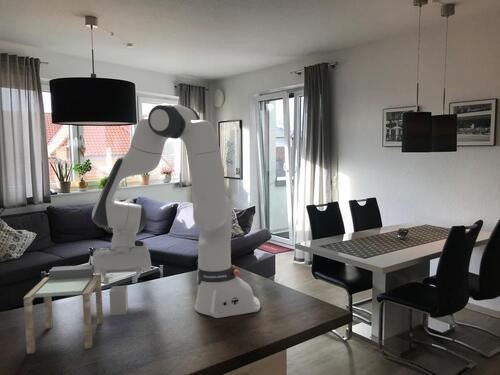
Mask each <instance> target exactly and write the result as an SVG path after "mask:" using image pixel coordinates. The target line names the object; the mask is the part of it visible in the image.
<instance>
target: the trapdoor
mask: <svg viewBox="0 0 500 375" xmlns="http://www.w3.org/2000/svg"><path fill="white" fill-rule="evenodd" d="M94 272H95V270H94V265H92V264H84V265H65V266H52V268H50V269H49V270H48V277H49V281H48V282H47V283H46V284H45V285H44V286H43V287H42V288H41V289H40V290H39V291H38V292H37V293H36V294H35V298H44V297H49V296H51V297H62V296H75V295H83V292H84V291H85V289H86V288H87V286H88V285H89V283H90V282H91V281H92V275H94Z"/></svg>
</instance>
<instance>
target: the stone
mask: <svg viewBox="0 0 500 375" xmlns="http://www.w3.org/2000/svg"><path fill="white" fill-rule="evenodd" d="M128 292H129V290H128V285H117V286H116V285H115V286H114V285H113V286H111V288H110V290H109V310H110V311H109V312H110V316H118V315H121V316H122V315H127V314H128V313H127V312H128V310H129V294H128Z"/></svg>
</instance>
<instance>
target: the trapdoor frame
mask: <svg viewBox="0 0 500 375" xmlns="http://www.w3.org/2000/svg"><path fill="white" fill-rule="evenodd" d="M48 281H49V276H48V277H44V278H43V279H41V281H39V283H37V284H36V285H35V286H34V287H32V289H31V290H30V291H28V293H26V294H25V296H24V297H23V308H24V310H23V312H24V322H25V325H24V327H25V328H24V329H25V339H26V340H25V341H26V353H27V354H28V355H29V354H34V353H35V351H36V340H35V326H34V324H35V323H34V322H35V321H34V310H33V309H34V308H33V307H34V306H33V300H34V299H35V298H36V297H35V294H36V293H37V292H38V291H39V290H40V289H41V288H42V287H43V286H44V285H45V284H46V283H47V282H48ZM94 291H95V309H96V310H95V312H96V325H102V324H104V314H103V312H104V311H103V296H102V295H103V294H102V274H93V275H92V281H91V282H90V283H89V285H88V286H87V288H86V289H85V291H84V292H83V294H82V306H83V307H82V308H83V309H82V310H83V312H82V313H83V327H84V329H83V330H84V346H85V347H84V348H85V349H91V348H93V335H92V334H93V333H92V332H93V330H92V312H91V310H92V308H91V295H92V294H93V293H94ZM43 298H44V311H45V326H46V327H45V328H46V329H52V328H53V327H54V320H53V319H54V318H53V316H54V315H53V304H52V303H53V302H52V301H53V300H52V298H53V297H52V296H49V297H43Z"/></svg>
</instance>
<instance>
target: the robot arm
mask: <svg viewBox="0 0 500 375" xmlns="http://www.w3.org/2000/svg"><path fill="white" fill-rule="evenodd" d="M169 138H170V139H174V140H175V139H176V140H177V139H180V140H182V142H183V143H184V145H185V151H186V157H187V163H188V168H189V174H190V181H191V200H192V202H191V203H192V216H193V217H192V218H193V221H194V223H195V225H196V226H197V227H198V228H199V235H198V243H197V256H198V257H197V260H198V261H197V262H198V264H197V265H198V266H197V268H196V269H197V270H196V282H197V294H196V300H195V305H194V306H193V307H194V310H195V311H196V312H198V313H200V314H202V315H207V316H210V317H212V318H215V319H218V318H219V319H220V318H225V317H232V316H238V315H244V314H249V313H257V312H259V311H260V309H261V302H260V299H258V297H257V296H255V295H254V292H253V289H252V287H251V285H250V284H249V283H248V282H247V281H244V280H243V279H241V278H240V277H239V276H240V270H239V269H237V267H236V266H235V265H234V264H233V265H232V262H231V261H232V257H231V256H232V255H231V254H232V249H231V248H232V246H231V245H232V244H231V241H232V227H233V226H232V223H233V221H232V220H233V204H232V201H231V199H230V198H229V197H228V196H227V195H226V187H225V172H224V166H223V159H222V154H221V148H220V145H219V140H218V139H219V138H218V136H217V134H216V130H215V127H214V125H213V124H212V122H210V121H209V120H205V119H201V118H200V116H199V114H198V113H197V111H196V110H195V109H193V108H192V107H188V106H184V105H181V104H177V103H176V104H175V103H160V104H157V105H155V106H154V107H152V108H151V109H150V111H149V113H148V116H145V117H142V118H141V119H140V120H139V121H138V124H137V125H136V127H135V130H134V132H133V136H132V139H131V142H130V146H129V149H128V151H127V152H126V153H125V154H124V156H121V157H118V158H117V160H116V161H115V162H114V164H113V166H112V169H111V170H110V172H109V174H108V177H107V179H106V182H105V184H104V186H103V188H102V190H101V193H100V196H99V198H98V199H97V201H96V202H95V204H94V206H93V208H92V212H91V220H92V222H93V223H94V224H95V225H96V226H97V227H98V228H112V233H113V234H112V238H111V243H110V244H111V245H110V248H98V249H96V250H94V251H93V253H92V261H91V265H94V270H95V272H94V274H101V278H103V284H104V285H109V284H110V283H109V282H110V278H109V277H107V274H118V273H121V274H122V273H136V274H135V275H132V276H131V282H132V283H133V284H134V283H135V284H136V283H138V278H139V277H140V276H141V273H142V272H149V271H150V270H151V269H152V260H151V253H150V251H149V246H148V243H147V242H146V241H144V240H143V241H142V240H138V239H137V234H139V233H140V232H141V231H143V230H144V228H145V226H146V222H147V210H146V209H145V207H144V206H143V205H142V204H139V203H138V204H136V203H133V202H132V203H131V202H124V201H119V200H114V195H115V194H116V192H117V190H118V187H119V185H120V183H121V181H122V180H124V179H126V178H128V177H133V176H140V175H145V174H148V173H151V172H153V171H155V169H156V168H157V167H158V166H159V165H160V162H161V159H162V155H163V151H164V149H165V148H164V147H165V144H166V142H167V140H168V139H169ZM94 274H93V275H94Z"/></svg>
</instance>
